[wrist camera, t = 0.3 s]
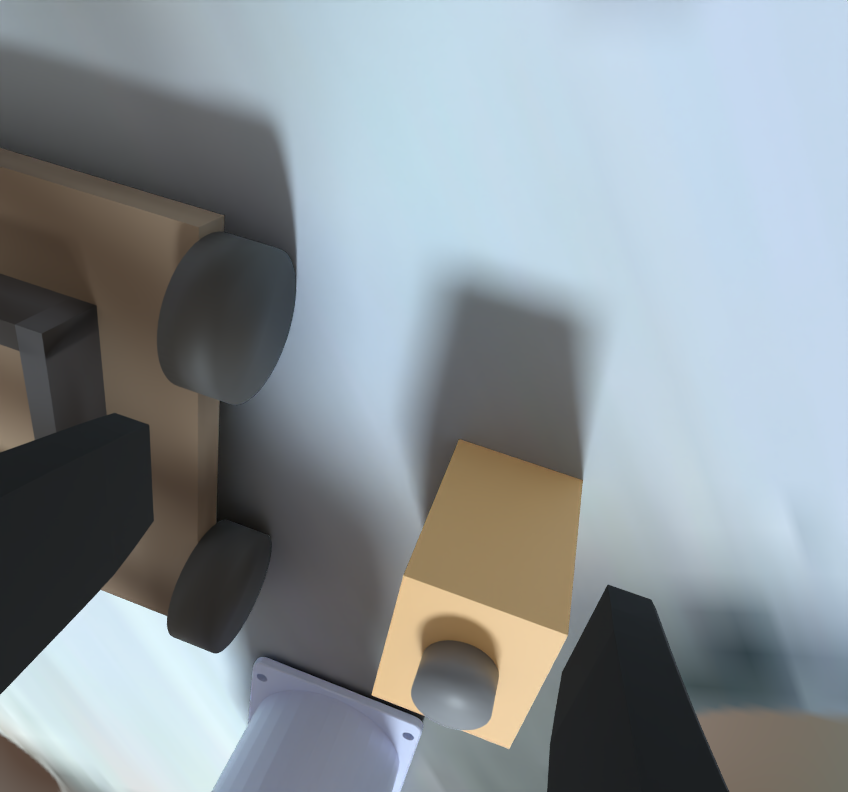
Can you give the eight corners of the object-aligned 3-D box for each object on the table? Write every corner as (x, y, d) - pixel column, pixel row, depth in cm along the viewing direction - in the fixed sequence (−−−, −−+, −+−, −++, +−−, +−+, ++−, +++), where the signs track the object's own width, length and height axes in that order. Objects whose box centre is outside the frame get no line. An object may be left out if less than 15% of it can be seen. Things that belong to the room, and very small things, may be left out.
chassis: (267, 592, 26) (205, 688, 22) (-100, 452, 29) (-212, 517, 25) (303, 218, 18) (212, 271, 14) (-226, 61, 20) (-429, 69, 16)
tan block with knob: (535, 586, 22) (503, 785, 16) (427, 547, 23) (358, 727, 17) (582, 479, 19) (564, 672, 14) (459, 438, 20) (390, 607, 14)
